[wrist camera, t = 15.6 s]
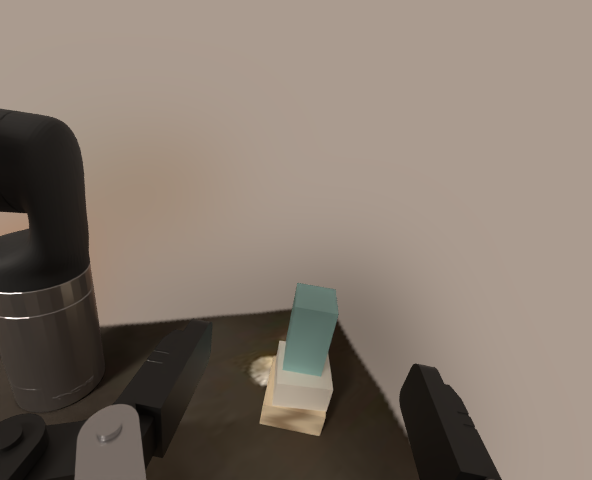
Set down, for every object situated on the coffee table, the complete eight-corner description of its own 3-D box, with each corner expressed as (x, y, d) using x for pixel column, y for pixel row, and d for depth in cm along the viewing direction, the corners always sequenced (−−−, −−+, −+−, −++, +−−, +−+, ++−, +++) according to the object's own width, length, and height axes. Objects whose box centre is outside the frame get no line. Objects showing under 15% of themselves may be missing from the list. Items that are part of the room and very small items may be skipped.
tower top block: (272, 405, 35) (276, 383, 33) (275, 360, 41) (279, 340, 40) (326, 411, 35) (333, 389, 34) (321, 366, 42) (327, 346, 40)
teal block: (282, 370, 35) (294, 306, 31) (286, 341, 40) (297, 282, 36) (321, 376, 35) (338, 314, 31) (320, 347, 40) (335, 289, 36)
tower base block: (259, 424, 36) (263, 404, 35) (270, 374, 44) (273, 355, 42) (319, 437, 36) (325, 417, 35) (320, 384, 44) (325, 366, 42)
